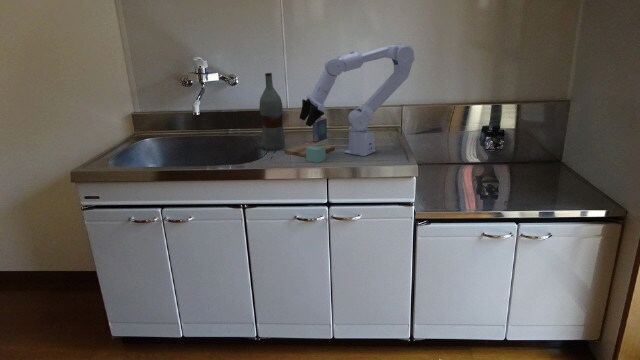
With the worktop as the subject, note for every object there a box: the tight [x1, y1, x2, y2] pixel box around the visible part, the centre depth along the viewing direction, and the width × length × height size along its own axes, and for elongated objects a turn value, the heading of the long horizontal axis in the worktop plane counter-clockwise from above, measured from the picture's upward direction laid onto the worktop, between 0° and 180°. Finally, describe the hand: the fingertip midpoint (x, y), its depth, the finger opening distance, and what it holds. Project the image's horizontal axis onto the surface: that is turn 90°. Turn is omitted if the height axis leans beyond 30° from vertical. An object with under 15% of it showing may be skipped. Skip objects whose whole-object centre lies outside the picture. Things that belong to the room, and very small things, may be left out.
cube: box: [305, 145, 327, 164], centre depth 161 cm, size 5×5×5 cm
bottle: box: [259, 72, 286, 151], centre depth 177 cm, size 9×9×30 cm
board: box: [284, 142, 336, 158], centre depth 173 cm, size 14×14×1 cm
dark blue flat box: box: [312, 116, 328, 143], centre depth 190 cm, size 9×3×11 cm, turn 146°
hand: (304, 122), depth 164 cm, fingers open, 7 cm apart
